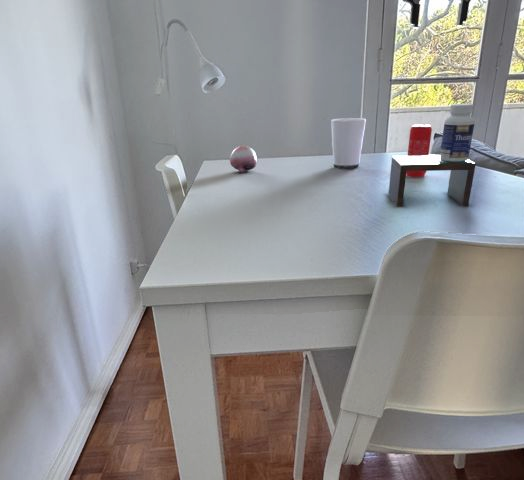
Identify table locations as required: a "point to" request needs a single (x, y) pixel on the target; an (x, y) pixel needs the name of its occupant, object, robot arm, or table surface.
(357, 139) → the cup
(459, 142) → the pill bottle
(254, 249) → the table surface
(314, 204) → the table surface
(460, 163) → the shelf
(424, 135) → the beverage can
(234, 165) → the onion
